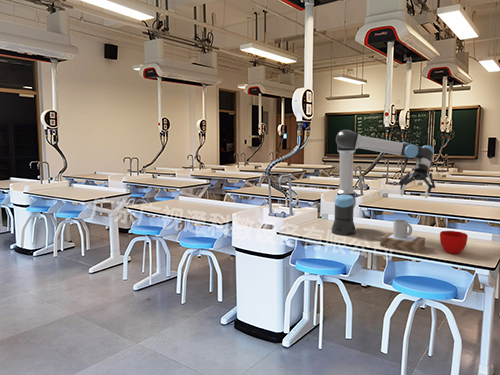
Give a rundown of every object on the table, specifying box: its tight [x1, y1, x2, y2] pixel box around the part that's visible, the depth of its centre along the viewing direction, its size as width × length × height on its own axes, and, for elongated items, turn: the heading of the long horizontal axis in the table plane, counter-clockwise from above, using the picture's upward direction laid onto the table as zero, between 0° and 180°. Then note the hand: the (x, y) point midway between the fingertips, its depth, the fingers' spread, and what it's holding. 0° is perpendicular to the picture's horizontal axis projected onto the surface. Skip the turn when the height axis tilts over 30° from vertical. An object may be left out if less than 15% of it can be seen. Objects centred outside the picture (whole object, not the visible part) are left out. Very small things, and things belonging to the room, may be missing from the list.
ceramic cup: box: [439, 230, 468, 255], centre depth 211 cm, size 13×17×10 cm
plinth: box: [379, 232, 426, 253], centre depth 221 cm, size 20×14×5 cm
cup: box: [392, 219, 413, 238], centre depth 220 cm, size 7×10×9 cm
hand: (413, 195), depth 230 cm, fingers open, 13 cm apart
